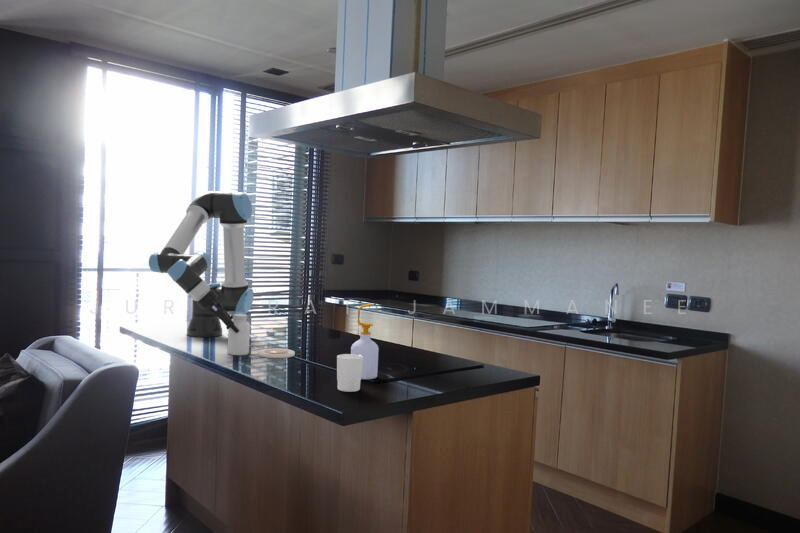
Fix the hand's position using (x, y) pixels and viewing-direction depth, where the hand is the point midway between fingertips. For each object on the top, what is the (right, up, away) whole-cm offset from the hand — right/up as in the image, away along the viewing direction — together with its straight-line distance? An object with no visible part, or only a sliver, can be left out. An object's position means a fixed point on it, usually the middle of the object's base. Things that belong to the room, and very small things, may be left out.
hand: (243, 335), depth 223 cm
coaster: (+12, -8, +2) cm, 15 cm away
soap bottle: (+48, -11, -29) cm, 57 cm away
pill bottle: (-2, -7, 0) cm, 8 cm away
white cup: (+44, -11, -47) cm, 65 cm away
